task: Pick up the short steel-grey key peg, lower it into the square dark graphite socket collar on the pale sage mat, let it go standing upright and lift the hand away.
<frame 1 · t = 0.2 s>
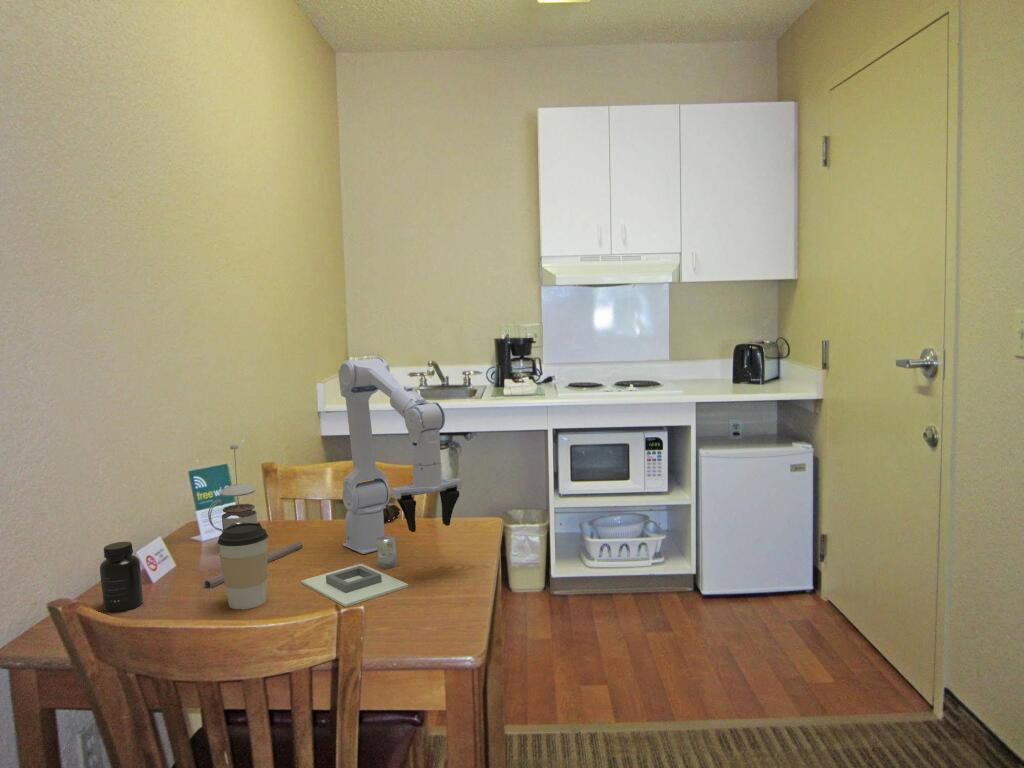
hand: (429, 527, 154), 10 cm above the table, fingers open, 7 cm apart
key peg: (387, 565, 161), on the table
supplement bottle: (123, 606, 143), on the table
bolt: (378, 525, 193), on the table
socket: (354, 584, 150), on the table
coffee cup: (247, 603, 143), on the table
french press: (237, 549, 177), on the table
metal rod: (257, 568, 163), on the table
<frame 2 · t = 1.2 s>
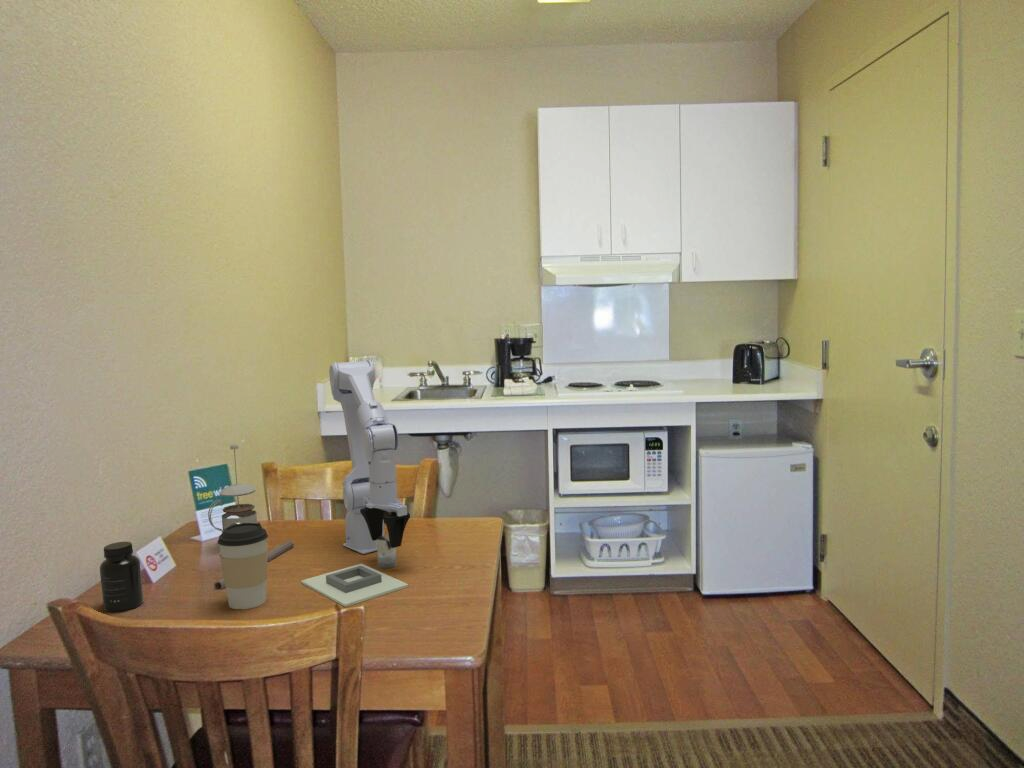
hand: (386, 543, 160), 5 cm above the table, fingers open, 7 cm apart
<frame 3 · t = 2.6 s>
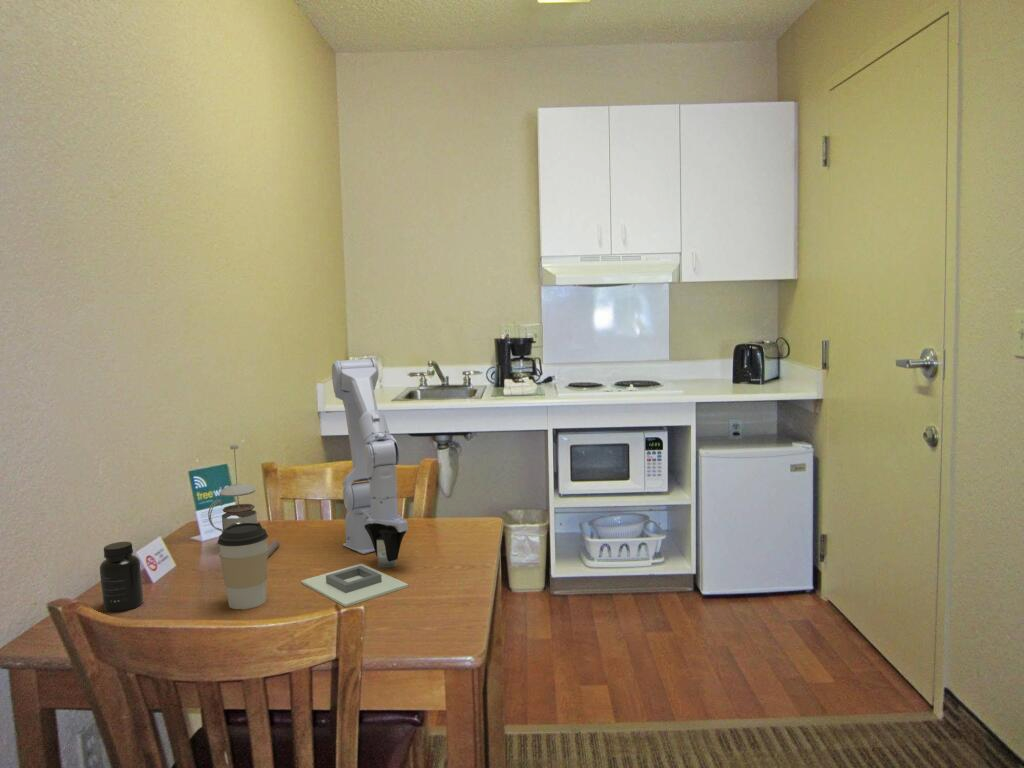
hand: (386, 557, 161), 2 cm above the table, fingers closed on key peg, 4 cm apart
key peg: (387, 565, 161), on the table, touching gripper
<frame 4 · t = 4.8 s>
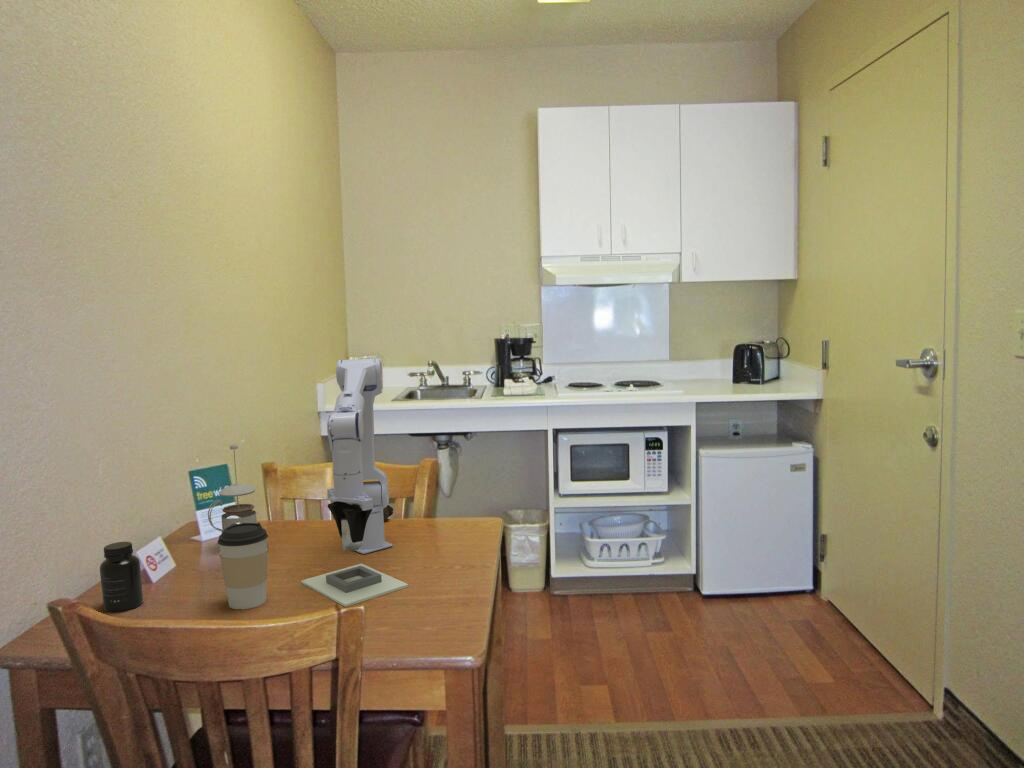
hand: (351, 539, 149), 9 cm above the table, fingers closed on key peg, 4 cm apart
key peg: (352, 547, 149), point 8 cm above the table, touching gripper
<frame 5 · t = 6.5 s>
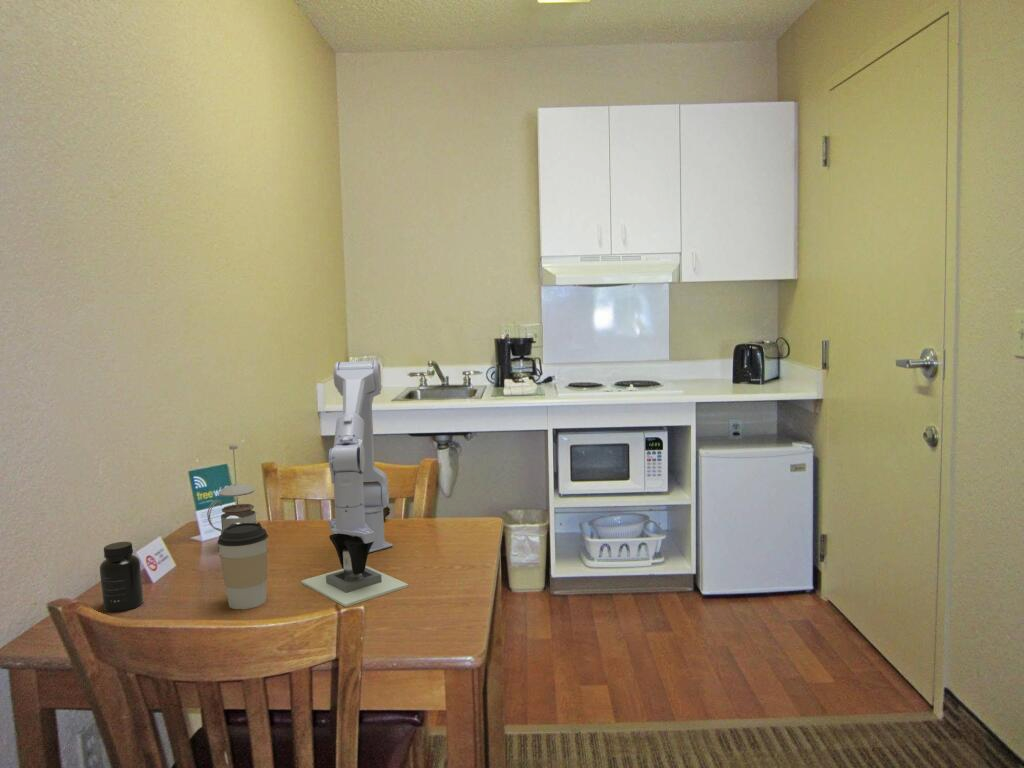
hand: (353, 570, 150), 3 cm above the table, fingers closed on key peg, 4 cm apart
key peg: (354, 578, 150), point 1 cm above the table, touching gripper
french press: (236, 549, 177), on the table, touching metal rod
metal rod: (258, 568, 163), on the table, touching french press
when the fingers open (3 cm above the table, at t = 7.1 s): key peg stays where it is, resting on socket.
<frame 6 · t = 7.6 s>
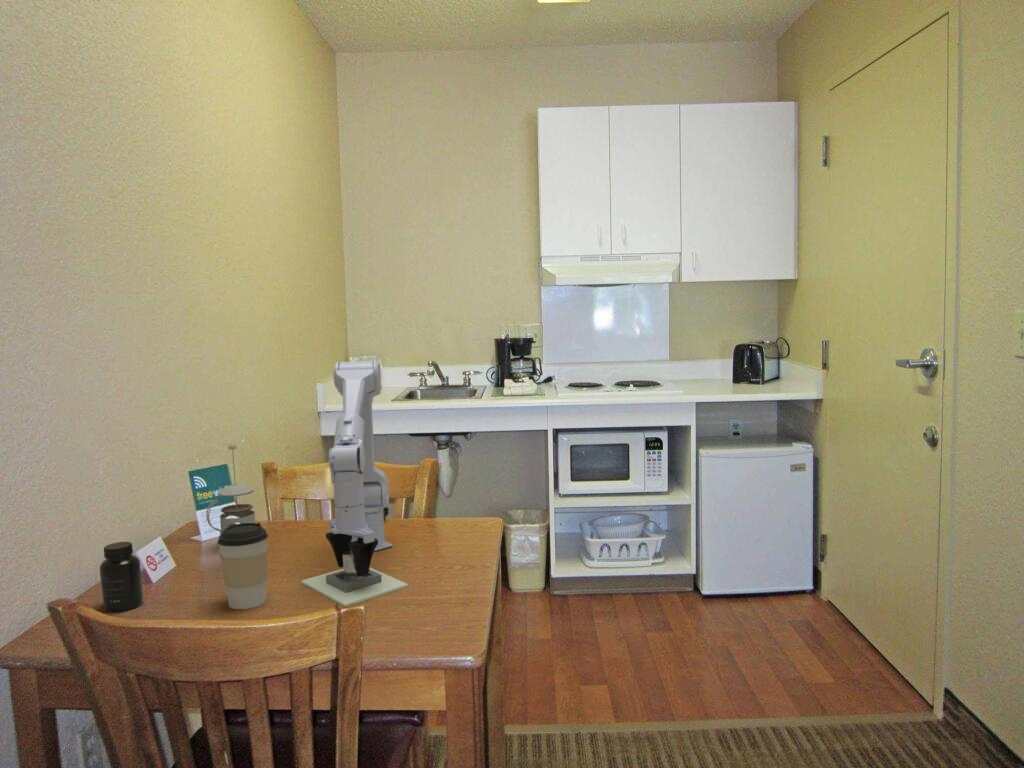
hand: (353, 570, 150), 3 cm above the table, fingers open, 7 cm apart
key peg: (354, 582, 150), point 1 cm above the table, touching socket
french press: (235, 549, 177), on the table
metal rod: (259, 568, 163), on the table
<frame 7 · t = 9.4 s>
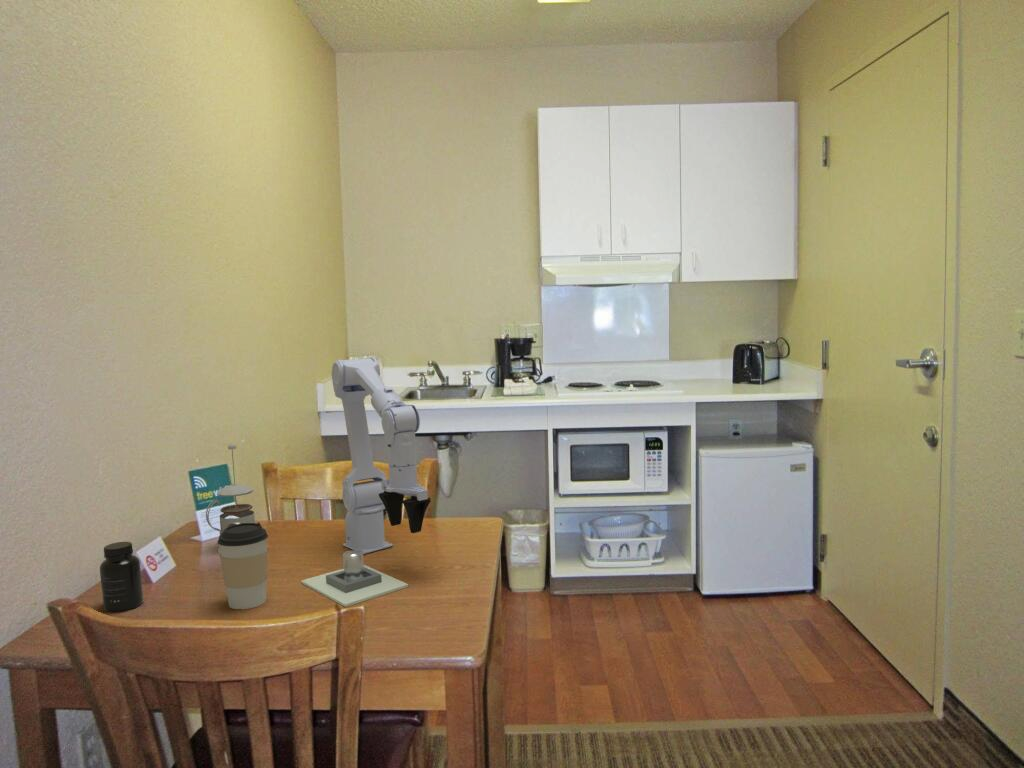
hand: (405, 528, 155), 9 cm above the table, fingers open, 7 cm apart
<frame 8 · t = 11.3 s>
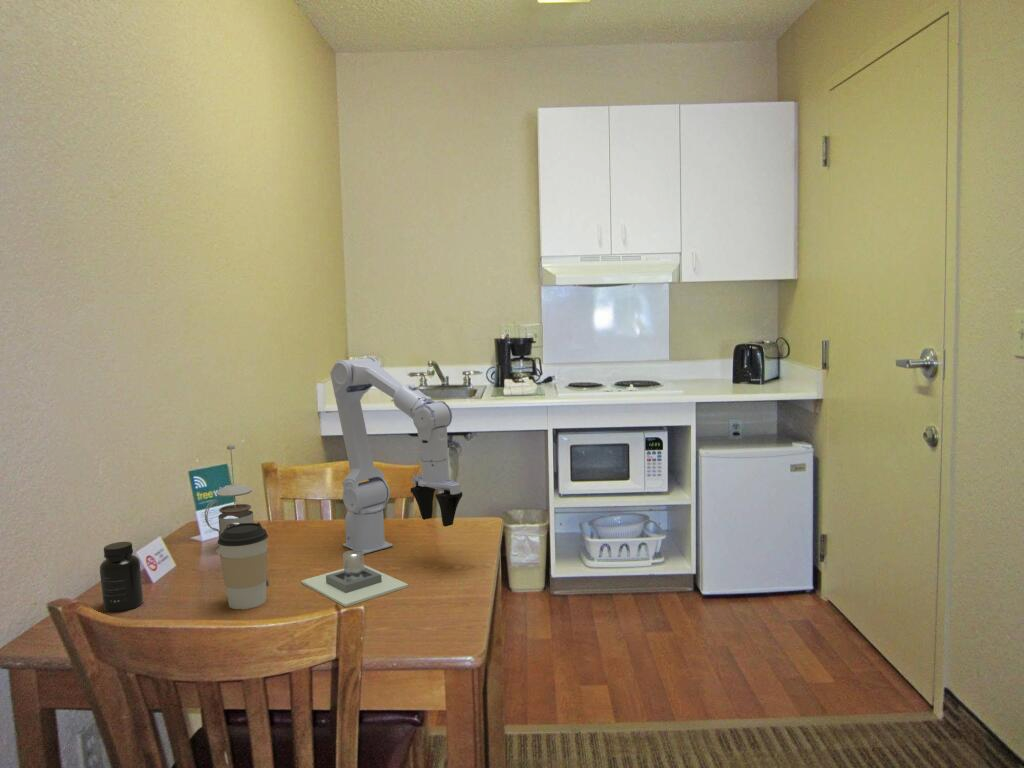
hand: (437, 521, 159), 9 cm above the table, fingers open, 7 cm apart
at the end: key peg 0.1 cm off-centre on the socket, point 0.5 cm above the socket's base; key peg tilted 1°; the gripper is holding nothing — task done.
